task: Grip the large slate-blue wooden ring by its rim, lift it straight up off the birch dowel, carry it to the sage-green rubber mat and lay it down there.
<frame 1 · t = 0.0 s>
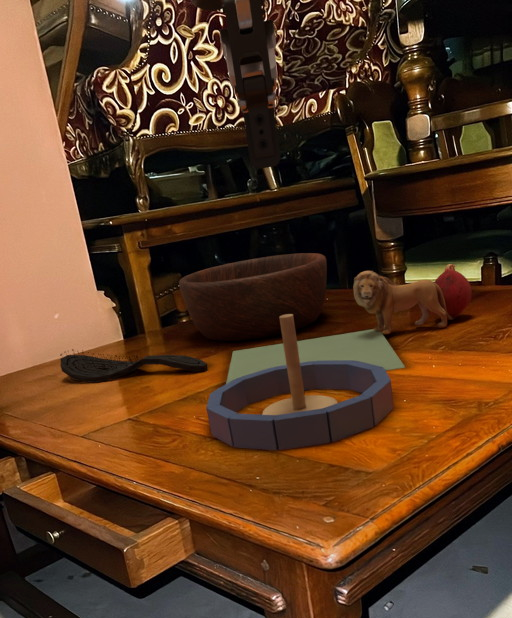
hand: (266, 167, 54), 25 cm above the table, tool pointing down, fingers open, 8 cm apart
dowel stand: (301, 418, 73), on the table
onion: (452, 320, 103), on the table
blue ring: (301, 418, 73), on the table
hairbrush: (134, 374, 104), on the table
green mat: (309, 362, 94), on the table
lion figurine: (402, 332, 100), on the table, touching green mat
wooden bowl: (261, 328, 120), on the table
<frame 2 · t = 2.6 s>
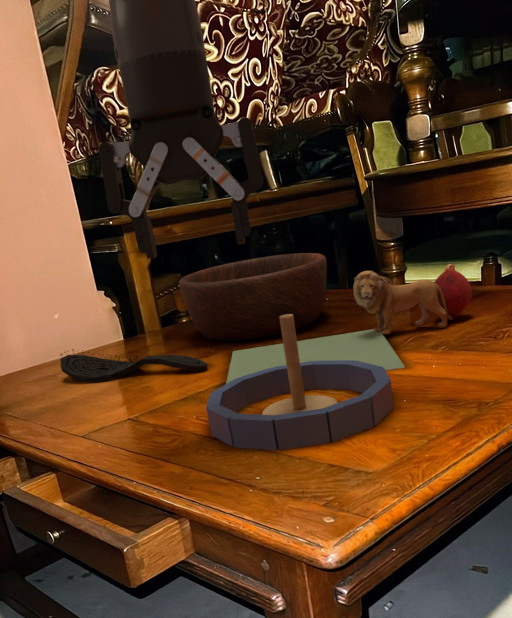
hand: (196, 250, 65), 19 cm above the table, tool pointing down, fingers open, 8 cm apart
nothing on the table moved.
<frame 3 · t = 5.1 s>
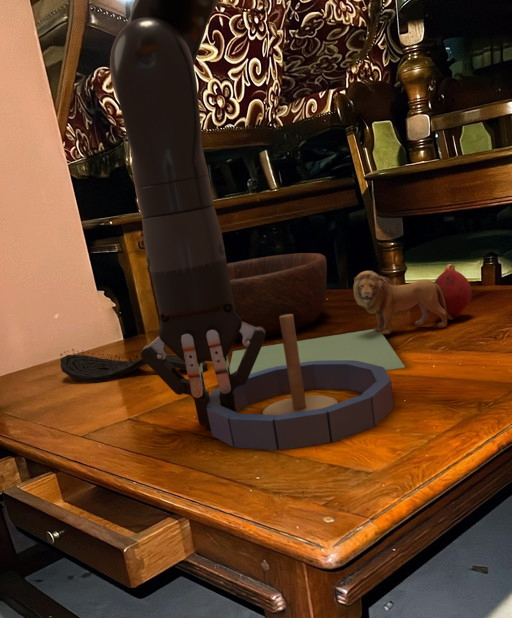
hand: (219, 425, 74), 1 cm above the table, tool pointing down, fingers closed on blue ring
blue ring: (301, 418, 73), on the table, touching gripper
everything else where it was.
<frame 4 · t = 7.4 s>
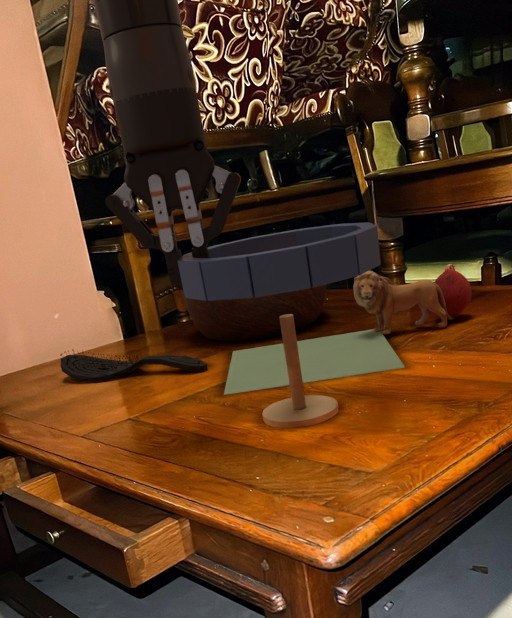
hand: (192, 287, 68), 15 cm above the table, tool pointing down, fingers closed on blue ring
blue ring: (281, 277, 68), point 15 cm above the table, touching gripper
everything else where it was.
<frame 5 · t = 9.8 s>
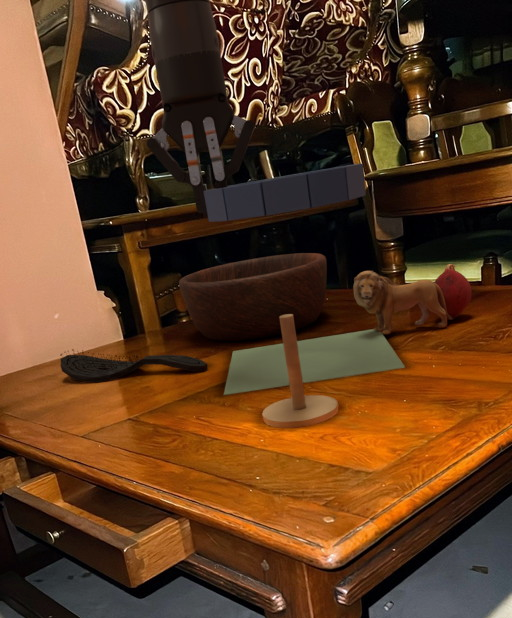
hand: (214, 215, 85), 21 cm above the table, tool pointing down, fingers closed on blue ring
blue ring: (286, 207, 84), point 20 cm above the table, touching gripper
everything else where it was.
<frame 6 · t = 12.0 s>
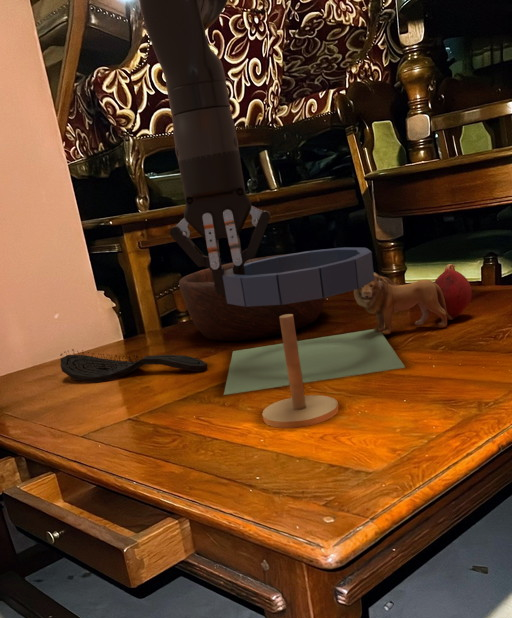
hand: (232, 295, 90), 10 cm above the table, tool pointing down, fingers closed on blue ring
blue ring: (299, 289, 90), point 10 cm above the table, touching gripper
everything else where it was.
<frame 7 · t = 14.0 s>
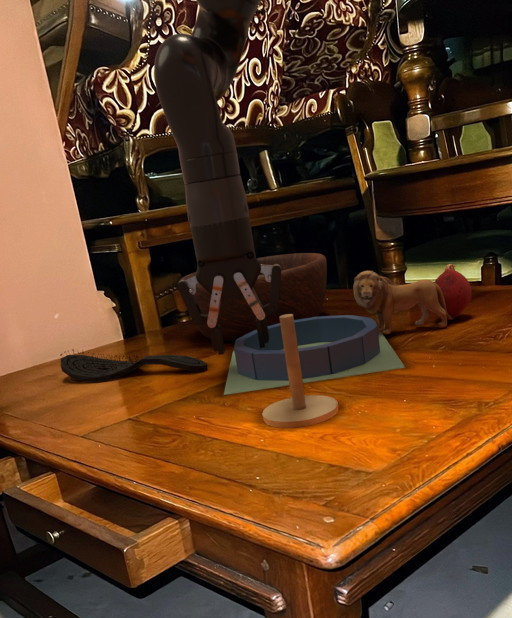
hand: (242, 349, 93), 3 cm above the table, tool pointing down, fingers open, 5 cm apart
blue ring: (307, 358, 93), point 1 cm above the table, touching green mat
everything else where it was.
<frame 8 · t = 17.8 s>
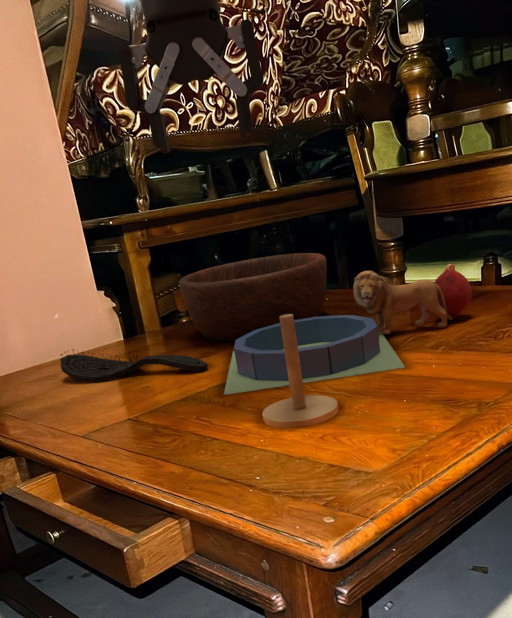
hand: (204, 145, 74), 28 cm above the table, tool pointing down, fingers open, 8 cm apart
nothing on the table moved.
at the end: blue ring inside the target area on the green mat (0.2 cm from its centre), point 0.6 cm above the green mat's base; blue ring moved 22.1 cm from its start; the gripper is holding nothing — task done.
